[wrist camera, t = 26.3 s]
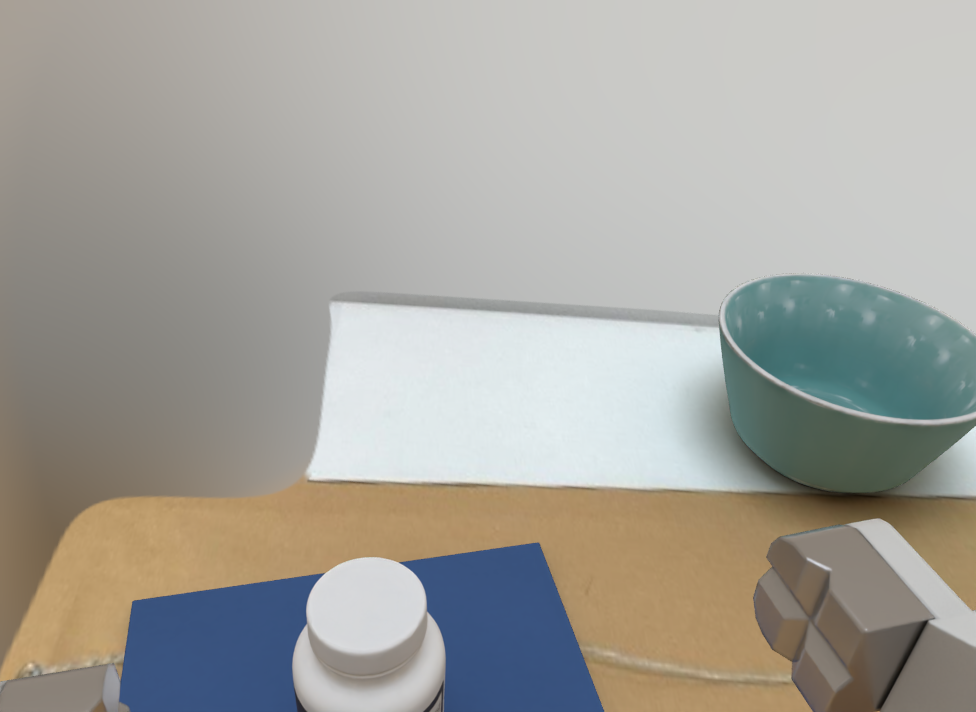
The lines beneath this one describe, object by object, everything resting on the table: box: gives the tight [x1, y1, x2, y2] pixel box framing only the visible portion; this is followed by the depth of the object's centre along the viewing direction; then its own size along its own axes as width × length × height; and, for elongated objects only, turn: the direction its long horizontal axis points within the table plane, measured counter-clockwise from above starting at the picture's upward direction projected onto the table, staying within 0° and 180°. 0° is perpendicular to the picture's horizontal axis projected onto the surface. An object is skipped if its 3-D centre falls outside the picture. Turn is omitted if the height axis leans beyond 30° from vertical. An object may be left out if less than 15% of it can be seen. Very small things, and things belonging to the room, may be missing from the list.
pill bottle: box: [292, 557, 446, 712], centre depth 30 cm, size 5×5×10 cm
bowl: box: [719, 273, 976, 493], centre depth 49 cm, size 16×16×8 cm
